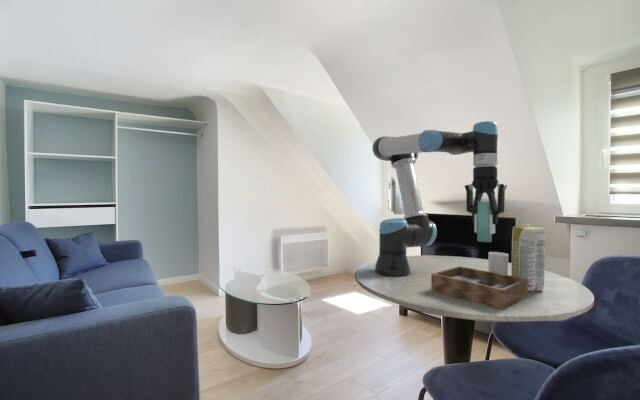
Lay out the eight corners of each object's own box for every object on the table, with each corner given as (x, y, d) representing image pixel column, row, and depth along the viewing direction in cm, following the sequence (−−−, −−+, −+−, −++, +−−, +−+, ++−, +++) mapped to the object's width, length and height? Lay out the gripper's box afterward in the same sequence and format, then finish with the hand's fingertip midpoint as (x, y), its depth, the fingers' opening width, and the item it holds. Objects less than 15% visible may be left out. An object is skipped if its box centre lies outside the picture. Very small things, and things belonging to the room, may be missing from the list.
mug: (510, 287, 118) (511, 255, 117) (491, 286, 119) (492, 254, 119) (500, 280, 128) (501, 250, 127) (482, 279, 129) (483, 250, 129)
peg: (480, 239, 114) (481, 201, 114) (494, 241, 111) (494, 201, 111) (475, 241, 112) (475, 201, 112) (488, 242, 108) (488, 201, 108)
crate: (431, 290, 113) (431, 273, 113) (459, 281, 126) (459, 266, 126) (503, 310, 95) (503, 290, 95) (527, 296, 107) (528, 279, 107)
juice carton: (532, 285, 121) (533, 222, 120) (547, 292, 113) (549, 225, 112) (508, 285, 121) (509, 222, 120) (521, 291, 113) (523, 224, 112)
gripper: (455, 167, 116) (455, 231, 116) (507, 163, 102) (507, 236, 102) (465, 168, 120) (465, 230, 120) (516, 165, 107) (516, 234, 107)
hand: (484, 232), depth 111 cm, fingers closed on peg, 4 cm apart
